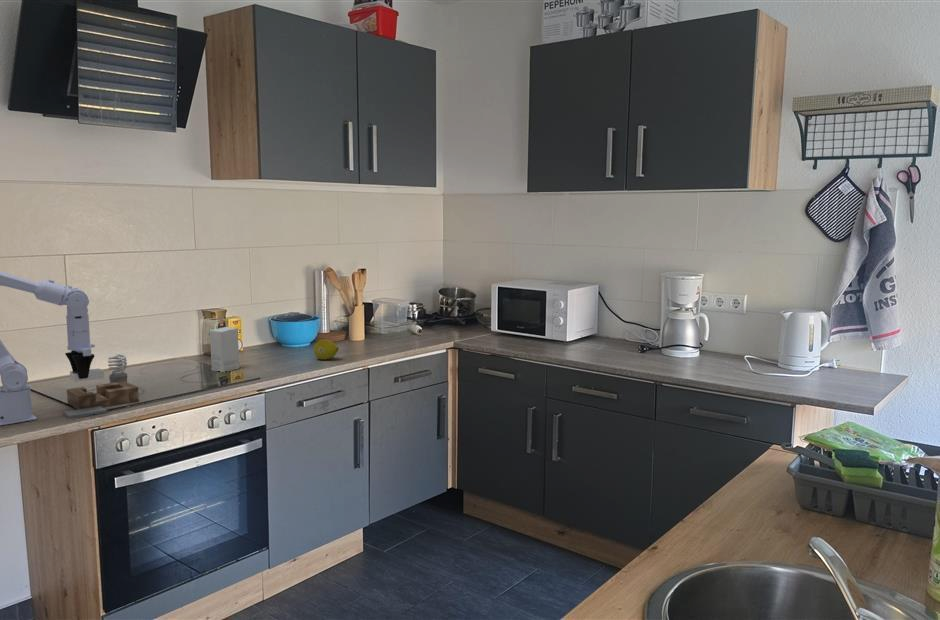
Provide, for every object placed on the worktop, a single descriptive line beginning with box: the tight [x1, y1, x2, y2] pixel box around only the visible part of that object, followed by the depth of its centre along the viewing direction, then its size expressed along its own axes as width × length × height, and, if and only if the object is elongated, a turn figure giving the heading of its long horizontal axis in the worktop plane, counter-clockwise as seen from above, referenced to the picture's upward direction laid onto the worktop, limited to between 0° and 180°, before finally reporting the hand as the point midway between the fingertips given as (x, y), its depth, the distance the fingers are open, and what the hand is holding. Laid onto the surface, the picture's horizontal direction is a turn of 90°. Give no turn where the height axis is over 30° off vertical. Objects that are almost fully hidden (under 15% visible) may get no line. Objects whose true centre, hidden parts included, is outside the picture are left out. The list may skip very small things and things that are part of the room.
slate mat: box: [62, 406, 108, 420], centre depth 217 cm, size 10×6×1 cm, turn 133°
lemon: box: [313, 339, 339, 361], centre depth 297 cm, size 11×8×8 cm
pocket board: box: [66, 381, 140, 410], centre depth 229 cm, size 17×12×4 cm
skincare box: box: [209, 326, 240, 373], centre depth 276 cm, size 8×7×16 cm
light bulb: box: [107, 353, 128, 383], centre depth 244 cm, size 6×6×12 cm
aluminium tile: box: [69, 368, 105, 383], centre depth 218 cm, size 8×4×2 cm, turn 135°
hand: (81, 377), depth 217 cm, fingers closed on aluminium tile, 4 cm apart
